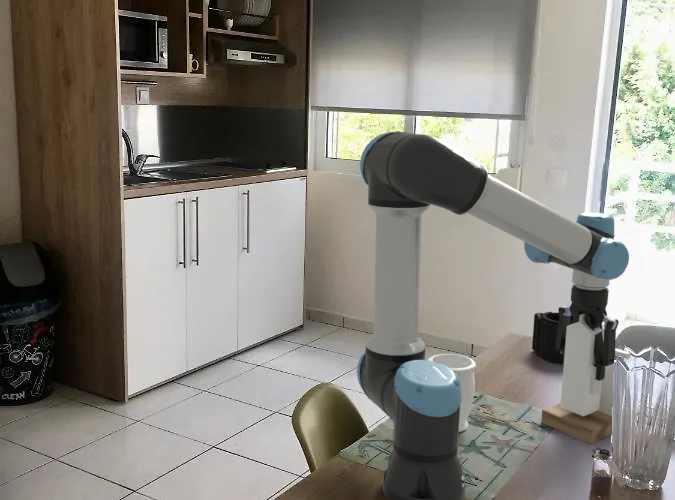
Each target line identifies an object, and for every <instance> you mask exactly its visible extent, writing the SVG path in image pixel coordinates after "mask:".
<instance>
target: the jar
mask: <svg viewBox="0 0 675 500" xmlns="http://www.w3.org/2000/svg"><path fill="white" fill-rule="evenodd" d="M428 361H434V362H435V363H436V364H439V363H441V364H443V365H445V366H447V367H449V368H450V369H452V370H453V371H454V372H455V373H456V374H457V376H458V378H459V380H460V388H461V403H460V416H459V433H461V432H463V431H466V430H467V429H468V426H469V423H468V421H467V419H468V418H469V416H470V413H471V410H472V408H473V407H472V406H473V402H474V397H475V392H476V391H475V390H476V386H475V385H476V384H475V383H476V381H475V374H474V371H475V369H476V368H477V363H476V361H475V360H474V359H472V358H471V357H469V356H465V355H462V354H454V353H440V354H436V355H432V356H430V357H429V358H428Z"/></svg>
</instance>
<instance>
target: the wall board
mask: <svg viewBox="0 0 675 500" xmlns="http://www.w3.org/2000/svg"><path fill="white" fill-rule="evenodd" d="M615 356H623V357H624V358H626V359H629V358H630V359H631V352H629V351H625V350H622V349H620V348H616V347H615ZM612 407H613V364H612V365H609V366H606V367H605V377H604V379H603V380H602V384H601V395H600V406H599V410H597V411H600V412H602V413H605V414H607V415H610V416H612Z"/></svg>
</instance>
